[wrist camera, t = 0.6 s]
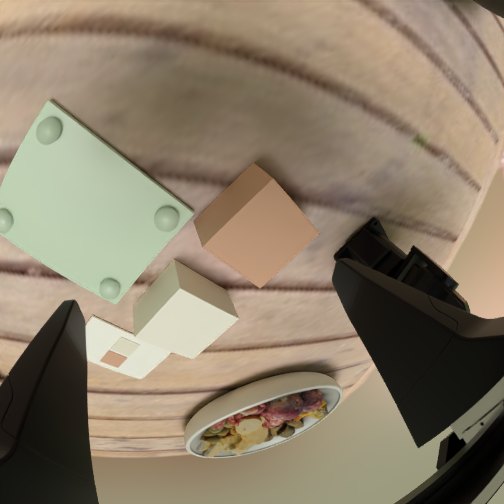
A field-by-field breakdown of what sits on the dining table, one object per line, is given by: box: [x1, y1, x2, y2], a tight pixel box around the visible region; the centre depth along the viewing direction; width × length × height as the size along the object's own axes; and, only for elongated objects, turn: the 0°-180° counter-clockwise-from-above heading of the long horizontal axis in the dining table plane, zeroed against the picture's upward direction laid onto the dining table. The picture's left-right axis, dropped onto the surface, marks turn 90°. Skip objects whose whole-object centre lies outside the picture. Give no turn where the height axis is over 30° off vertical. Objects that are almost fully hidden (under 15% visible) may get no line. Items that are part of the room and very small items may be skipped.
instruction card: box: [86, 315, 171, 380], centre depth 27 cm, size 10×7×1 cm
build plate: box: [0, 100, 194, 305], centre depth 17 cm, size 14×11×1 cm
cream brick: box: [133, 259, 239, 359], centre depth 24 cm, size 6×6×4 cm
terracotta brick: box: [194, 162, 320, 288], centre depth 22 cm, size 6×6×4 cm
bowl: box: [184, 372, 343, 458], centre depth 44 cm, size 30×30×8 cm
